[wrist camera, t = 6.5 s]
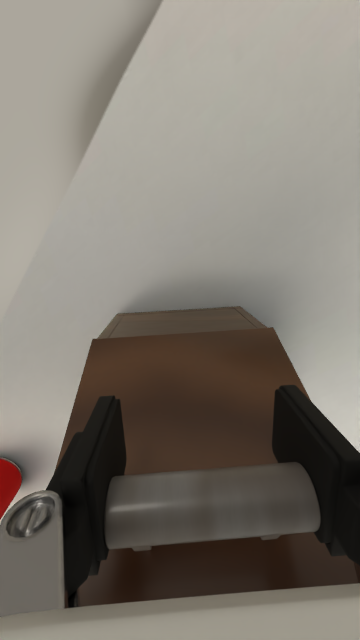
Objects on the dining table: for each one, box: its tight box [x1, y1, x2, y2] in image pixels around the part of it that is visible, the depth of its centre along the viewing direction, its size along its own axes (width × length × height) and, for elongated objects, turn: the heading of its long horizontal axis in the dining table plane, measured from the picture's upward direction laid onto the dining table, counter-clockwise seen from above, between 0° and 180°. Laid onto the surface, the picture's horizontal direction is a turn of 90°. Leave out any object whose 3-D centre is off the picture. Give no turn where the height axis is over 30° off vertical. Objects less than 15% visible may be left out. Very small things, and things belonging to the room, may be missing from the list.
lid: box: [54, 327, 358, 607], centre depth 13 cm, size 15×14×6 cm
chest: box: [97, 306, 267, 339], centre depth 27 cm, size 14×14×9 cm
